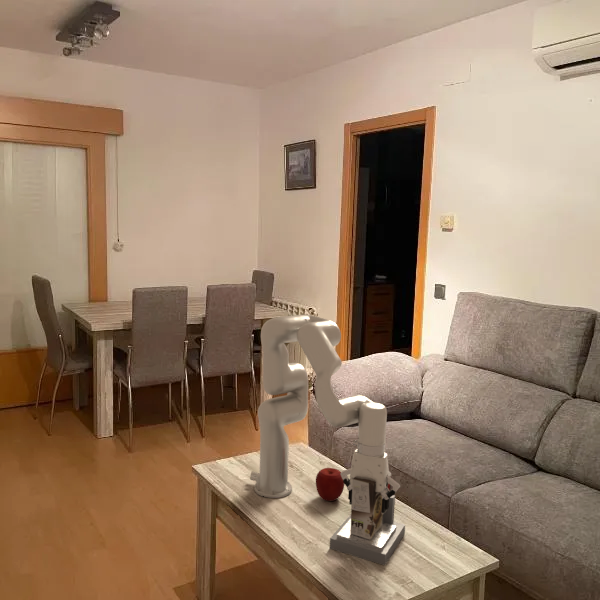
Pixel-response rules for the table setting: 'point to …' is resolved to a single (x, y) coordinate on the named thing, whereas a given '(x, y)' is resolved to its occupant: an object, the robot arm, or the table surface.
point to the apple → (329, 484)
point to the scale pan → (375, 542)
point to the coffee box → (365, 508)
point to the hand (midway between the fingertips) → (368, 506)
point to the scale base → (368, 552)
